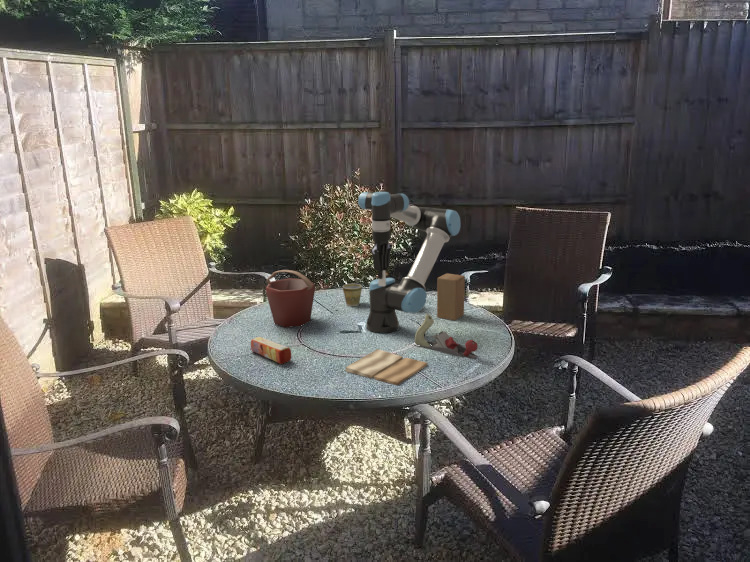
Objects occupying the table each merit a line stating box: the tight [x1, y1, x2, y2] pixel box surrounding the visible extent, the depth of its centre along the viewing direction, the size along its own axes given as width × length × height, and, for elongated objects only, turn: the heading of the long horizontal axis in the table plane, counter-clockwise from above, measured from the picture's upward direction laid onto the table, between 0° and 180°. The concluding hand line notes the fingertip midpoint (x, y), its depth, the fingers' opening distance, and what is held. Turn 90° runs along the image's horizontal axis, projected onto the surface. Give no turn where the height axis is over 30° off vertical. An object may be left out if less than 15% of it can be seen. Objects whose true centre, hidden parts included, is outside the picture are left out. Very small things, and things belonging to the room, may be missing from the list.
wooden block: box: [436, 272, 466, 321], centre depth 304 cm, size 10×10×20 cm
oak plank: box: [374, 357, 428, 386], centre depth 241 cm, size 10×22×2 cm, turn 146°
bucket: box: [265, 269, 316, 328], centre depth 300 cm, size 24×22×25 cm
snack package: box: [250, 336, 292, 365], centre depth 260 cm, size 21×7×7 cm, turn 44°
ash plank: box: [345, 348, 404, 379], centre depth 247 cm, size 13×22×2 cm, turn 146°
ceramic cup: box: [342, 283, 363, 307], centre depth 327 cm, size 13×10×10 cm
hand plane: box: [414, 313, 479, 360], centre depth 261 cm, size 7×31×15 cm, turn 51°
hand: (382, 285), depth 265 cm, fingers closed
